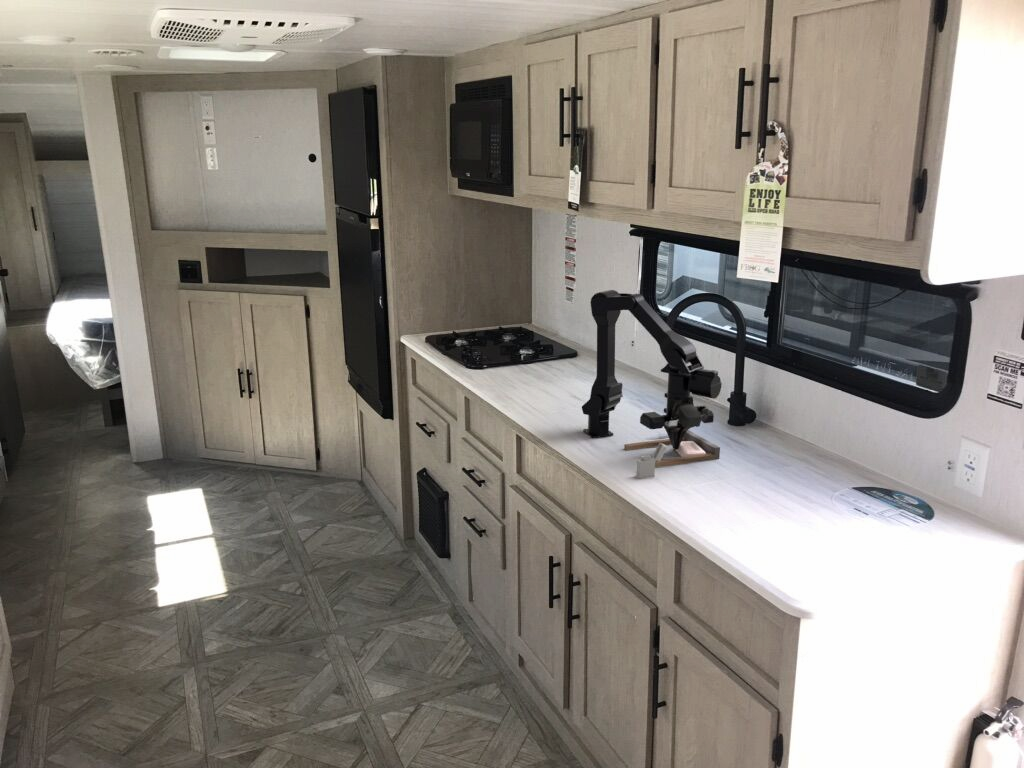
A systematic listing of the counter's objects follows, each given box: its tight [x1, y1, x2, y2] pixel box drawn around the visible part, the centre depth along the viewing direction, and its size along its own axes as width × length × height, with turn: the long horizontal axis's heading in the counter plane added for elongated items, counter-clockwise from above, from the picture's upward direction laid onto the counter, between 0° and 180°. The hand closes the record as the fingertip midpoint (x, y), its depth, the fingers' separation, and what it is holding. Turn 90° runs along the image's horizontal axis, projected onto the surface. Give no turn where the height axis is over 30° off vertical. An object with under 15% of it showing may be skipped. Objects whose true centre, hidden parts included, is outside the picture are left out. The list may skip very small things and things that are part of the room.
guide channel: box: [623, 429, 721, 469], centre depth 222 cm, size 15×19×3 cm
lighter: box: [635, 443, 668, 479], centre depth 206 cm, size 7×2×8 cm, turn 107°
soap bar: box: [675, 441, 706, 457], centre depth 222 cm, size 5×9×2 cm, turn 8°
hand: (675, 449), depth 223 cm, fingers closed
